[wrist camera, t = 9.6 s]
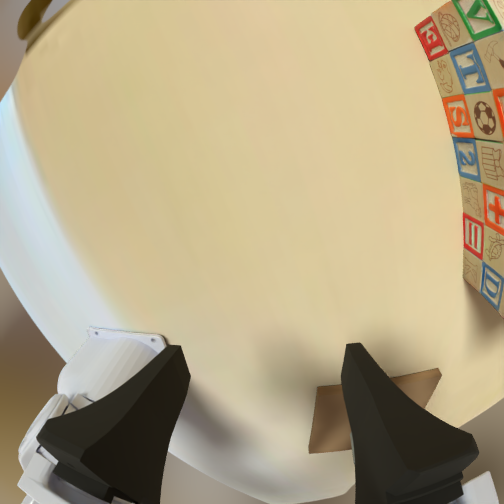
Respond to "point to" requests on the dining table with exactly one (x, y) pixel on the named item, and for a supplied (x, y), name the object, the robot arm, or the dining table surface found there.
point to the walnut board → (335, 414)
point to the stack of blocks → (474, 127)
